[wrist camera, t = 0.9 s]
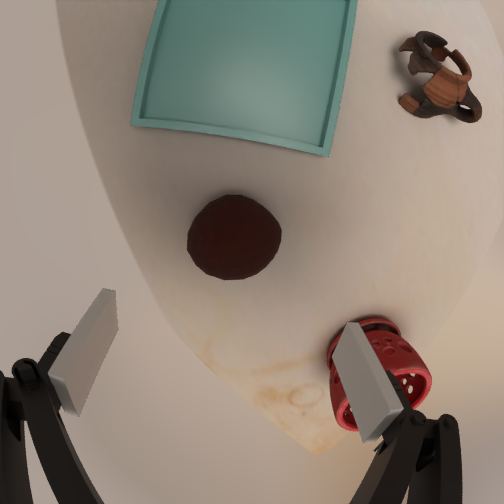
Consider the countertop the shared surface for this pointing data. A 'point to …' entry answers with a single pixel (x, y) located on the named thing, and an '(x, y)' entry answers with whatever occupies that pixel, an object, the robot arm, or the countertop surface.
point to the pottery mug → (440, 80)
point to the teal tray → (247, 69)
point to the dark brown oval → (233, 238)
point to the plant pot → (391, 358)
